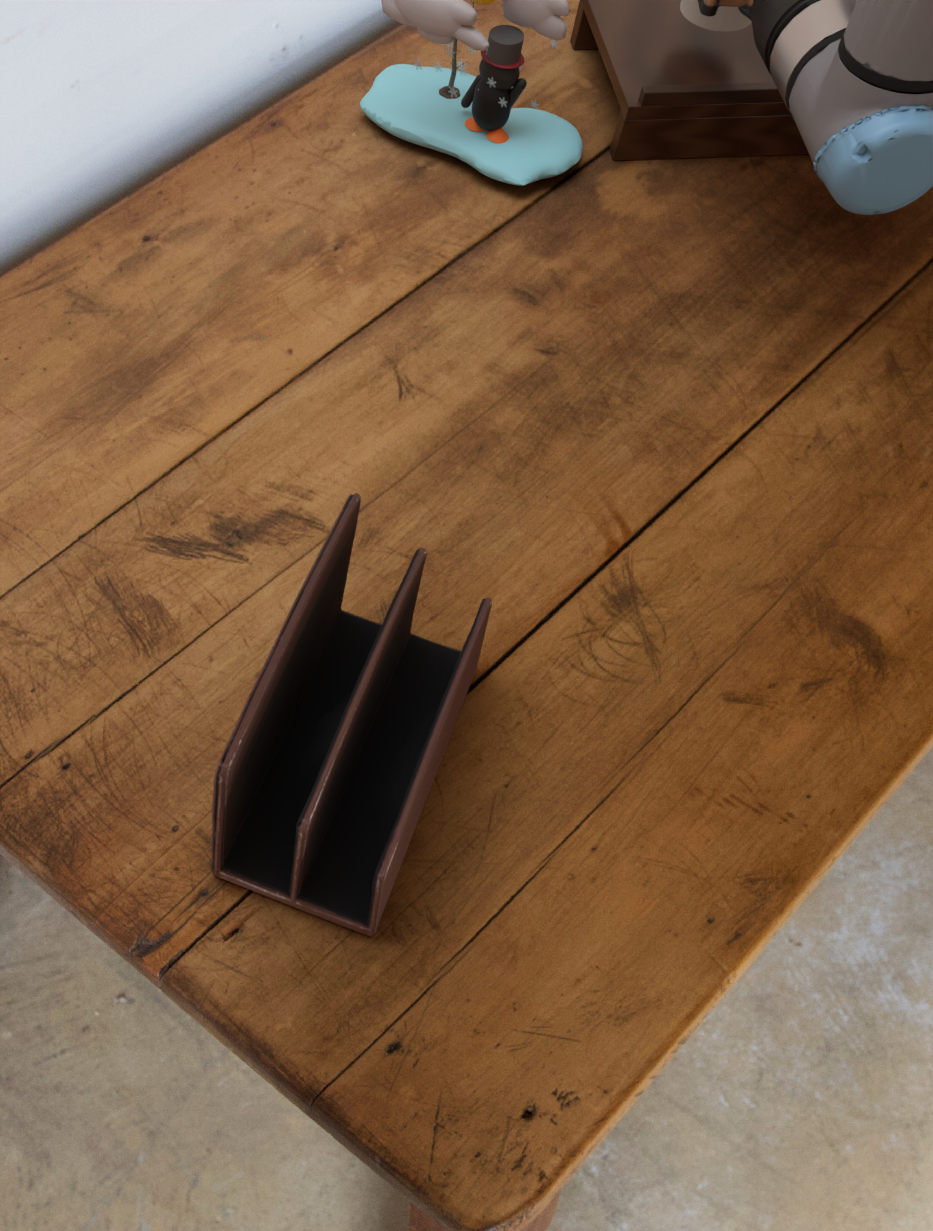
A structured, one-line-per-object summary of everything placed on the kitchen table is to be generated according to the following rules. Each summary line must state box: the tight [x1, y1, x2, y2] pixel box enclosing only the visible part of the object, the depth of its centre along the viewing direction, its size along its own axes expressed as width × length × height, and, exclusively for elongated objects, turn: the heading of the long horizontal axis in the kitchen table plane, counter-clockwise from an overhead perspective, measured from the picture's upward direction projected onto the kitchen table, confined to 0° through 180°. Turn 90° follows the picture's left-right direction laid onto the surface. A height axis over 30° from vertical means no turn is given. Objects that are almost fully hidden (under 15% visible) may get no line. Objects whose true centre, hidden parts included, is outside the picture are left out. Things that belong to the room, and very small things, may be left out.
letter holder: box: [210, 492, 493, 938], centre depth 70 cm, size 10×20×14 cm, turn 157°
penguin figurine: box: [359, 0, 584, 187], centre depth 103 cm, size 20×11×15 cm, turn 50°
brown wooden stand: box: [569, 0, 810, 161], centre depth 110 cm, size 18×18×6 cm
